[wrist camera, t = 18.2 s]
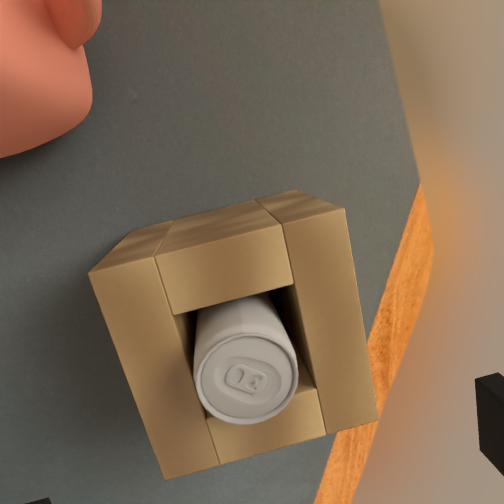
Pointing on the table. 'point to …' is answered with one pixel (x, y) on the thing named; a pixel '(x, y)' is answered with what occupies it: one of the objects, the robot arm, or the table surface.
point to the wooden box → (226, 289)
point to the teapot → (43, 69)
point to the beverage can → (244, 360)
